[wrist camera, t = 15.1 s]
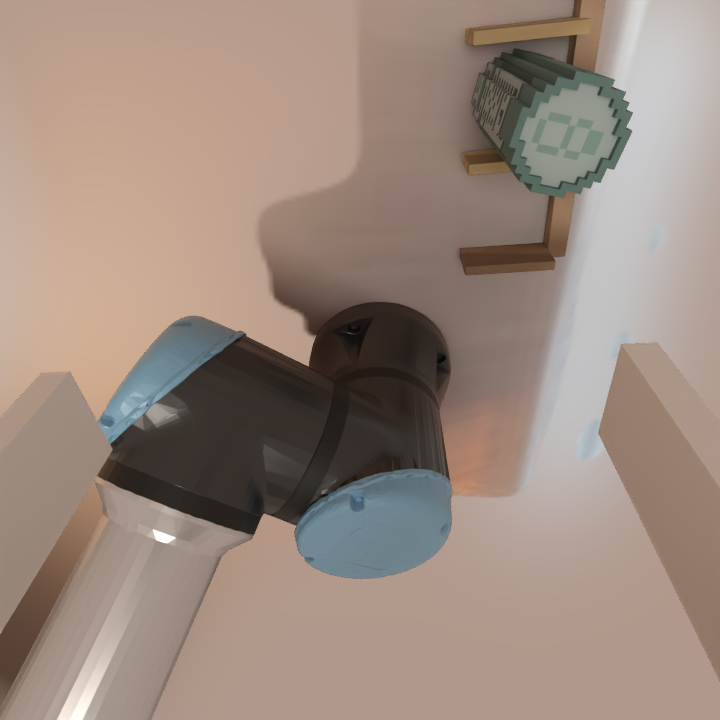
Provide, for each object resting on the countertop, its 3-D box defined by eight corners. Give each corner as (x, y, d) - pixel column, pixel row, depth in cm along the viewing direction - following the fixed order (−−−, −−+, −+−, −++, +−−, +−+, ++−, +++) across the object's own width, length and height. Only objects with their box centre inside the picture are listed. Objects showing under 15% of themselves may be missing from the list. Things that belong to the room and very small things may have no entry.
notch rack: (560, 249, 46) (573, 268, 43) (460, 256, 47) (465, 275, 44) (621, -155, 30) (649, -174, 27) (470, -134, 31) (479, -150, 28)
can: (534, 144, 41) (597, 205, 29) (463, 129, 40) (496, 184, 28) (566, 60, 37) (652, 88, 25) (488, 42, 37) (538, 62, 25)
